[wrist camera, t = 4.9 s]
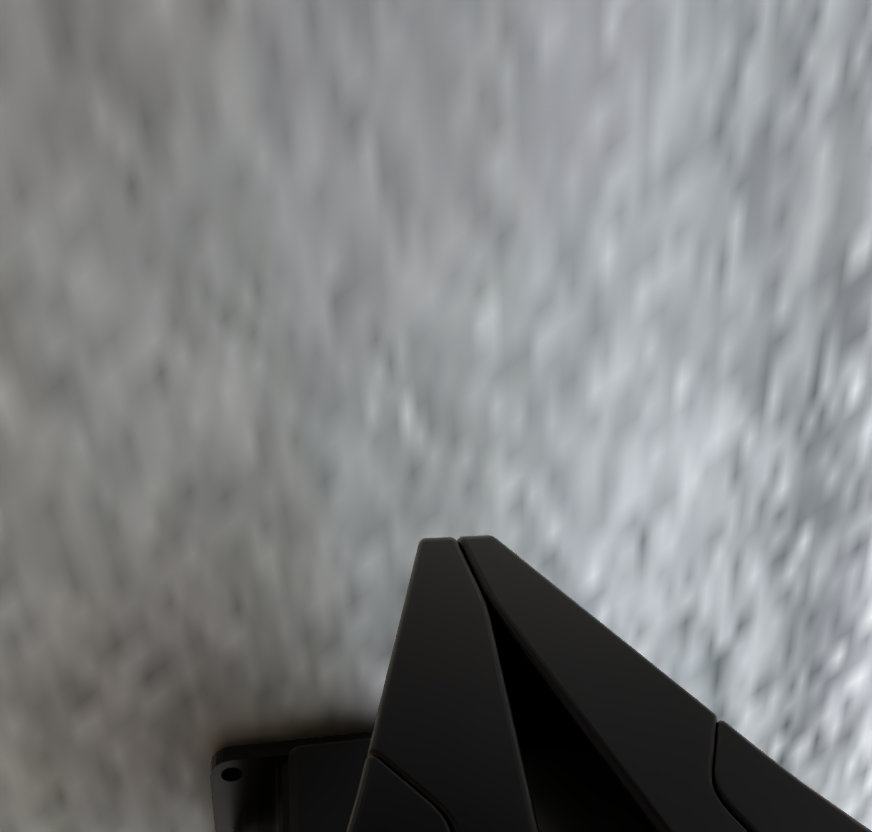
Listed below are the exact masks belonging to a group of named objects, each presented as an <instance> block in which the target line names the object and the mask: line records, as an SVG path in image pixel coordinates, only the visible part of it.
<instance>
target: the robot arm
mask: <svg viewBox="0 0 872 832" xmlns="http://www.w3.org/2000/svg"><path fill="white" fill-rule="evenodd" d="M232 767H233V768H232ZM210 778H211V788H212V798H213V809H214V819H215V829H216V832H872V831H871V830H869V829H868V828H866V827H865V826H864V825H862V824H861V823H859V822H858V821H856V820H855V819H854V818H852V817H851V816H849V815H848V814H846V813H845V812H844V811H842V810H841V809H839V808H838V807H837V806H835V805H834V804H832V803H831V802H830V801H828V800H827V799H825V798H824V797H823V796H821V795H820V794H818V793H817V792H815V791H814V790H813V789H811V788H810V787H808V786H807V785H806V784H804V783H803V782H801V781H800V780H799V779H797V778H796V777H795V776H794V775H792V774H791V773H790V772H788V771H787V770H786V769H784V768H783V767H782V766H781V765H779V764H778V763H777V762H775V761H774V760H773V759H771V758H770V757H769V756H768V755H766V754H765V753H764V752H762V751H761V750H760V749H758V748H757V747H756V746H755V745H753V744H752V743H751V742H750V741H748V740H747V739H746V738H745V737H743V736H742V735H741V734H740V733H738V732H737V731H736V730H735V729H733V728H732V727H731V726H730V725H728V724H727V723H726V722H724V721H719V722H718V723H717V716H716V715H715V714H714V713H713V712H712V711H710V710H709V709H708V708H707V707H706V706H704V705H703V704H702V703H701V702H699V701H698V700H697V699H696V698H694V697H693V696H692V695H691V694H689V693H688V692H687V691H686V690H684V689H683V688H682V687H681V686H679V685H678V684H677V683H676V682H674V681H673V680H672V679H671V678H669V677H668V676H667V675H666V674H664V673H663V672H662V671H661V670H659V669H658V668H657V667H656V666H654V665H653V664H652V663H651V662H649V661H648V660H647V659H646V658H644V657H643V656H642V655H641V654H640V653H638V652H637V651H636V650H635V649H633V648H632V647H631V646H630V645H628V644H627V643H626V642H625V641H623V640H622V639H621V638H620V637H618V636H617V635H616V634H615V633H613V632H612V631H611V630H610V629H608V628H607V627H606V626H605V625H603V624H602V623H601V622H600V621H598V620H597V619H596V618H595V617H593V616H592V615H591V614H590V613H588V612H587V611H586V610H585V609H583V608H582V607H581V606H580V605H579V604H577V603H576V602H575V601H574V600H572V599H571V598H570V597H569V596H567V595H566V594H565V593H564V592H562V591H561V590H560V589H559V588H557V587H556V586H555V585H554V584H552V583H551V582H550V581H549V580H547V579H546V578H545V577H544V576H542V575H541V574H540V573H539V572H537V571H536V570H535V569H534V568H532V567H531V566H530V565H529V564H527V563H526V562H525V561H524V560H522V559H521V558H520V557H519V556H517V555H516V554H515V553H514V552H513V551H511V550H510V549H509V548H508V547H506V546H505V545H504V544H503V543H501V542H500V541H499V540H498V539H496V538H495V537H493V536H489V535H484V536H464V537H460V538H459V539H458V540H457V541H456V539H454V538H451V537H443V538H425V539H422V540H421V541H420V542H419V545H418V549H417V553H416V557H415V561H414V565H413V569H412V573H411V578H410V582H409V586H408V590H407V594H406V598H405V602H404V606H403V610H402V614H401V619H400V623H399V627H398V631H397V635H396V639H395V643H394V647H393V651H392V655H391V660H390V664H389V668H388V672H387V676H386V680H385V684H384V688H383V692H382V696H381V701H380V705H379V709H378V713H377V717H376V721H375V725H374V729H373V732H370V733H360V734H350V735H340V736H330V737H321V738H311V739H301V740H291V741H282V742H272V743H262V744H252V745H242V746H233V747H228V748H223V749H222V750H220V751H218V752H217V753H216V754H215V755H214V756H213V758H212V763H211V776H210Z"/></svg>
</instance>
